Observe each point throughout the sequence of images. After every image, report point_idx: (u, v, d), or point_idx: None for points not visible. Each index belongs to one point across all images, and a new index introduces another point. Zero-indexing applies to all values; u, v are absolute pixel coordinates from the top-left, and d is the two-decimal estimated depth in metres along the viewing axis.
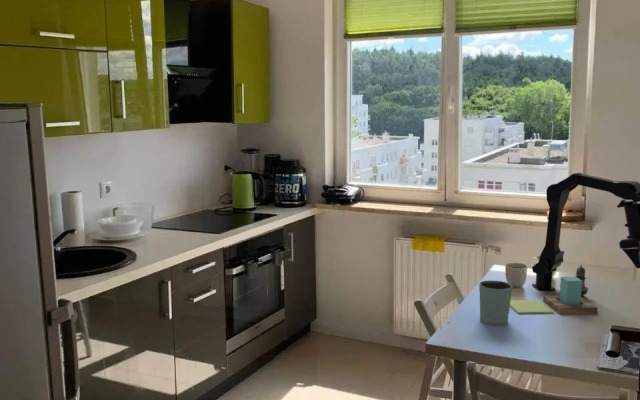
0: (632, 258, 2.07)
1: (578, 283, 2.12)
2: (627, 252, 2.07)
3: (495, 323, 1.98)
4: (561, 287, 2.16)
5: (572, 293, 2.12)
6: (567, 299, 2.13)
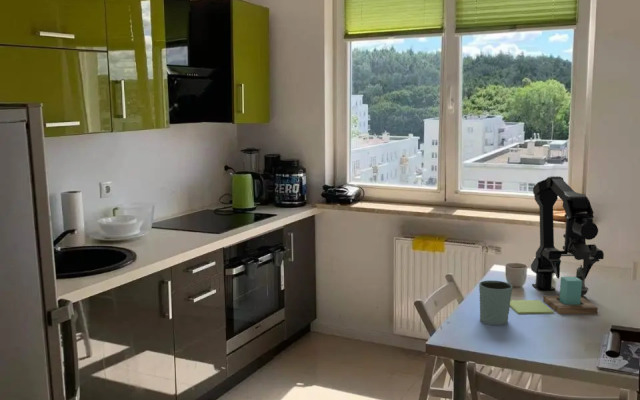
0: (554, 267, 2.14)
1: (578, 283, 2.12)
2: (551, 260, 2.15)
3: (495, 323, 1.98)
4: (561, 287, 2.16)
5: (572, 293, 2.12)
6: (567, 299, 2.13)
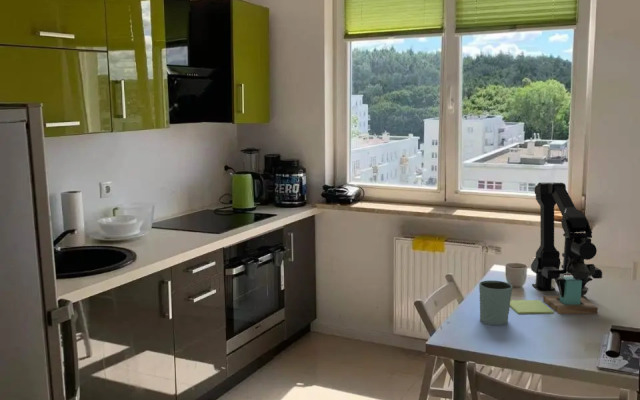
0: (558, 286, 2.15)
1: (578, 283, 2.12)
2: (555, 279, 2.16)
3: (495, 323, 1.98)
4: None
5: (572, 293, 2.12)
6: (567, 299, 2.13)
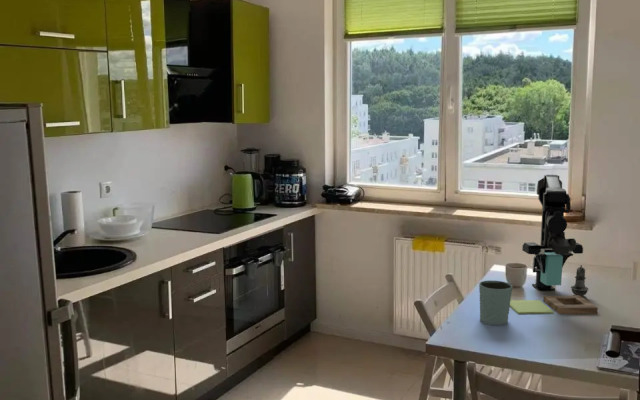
0: (539, 262, 2.13)
1: (559, 258, 2.10)
2: (536, 255, 2.14)
3: (495, 323, 1.98)
4: None
5: (553, 268, 2.10)
6: (549, 275, 2.11)
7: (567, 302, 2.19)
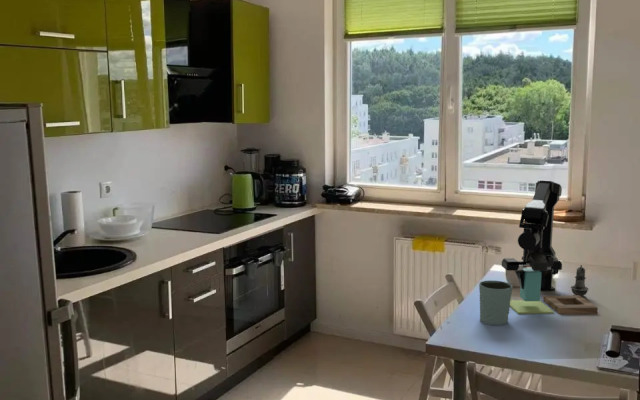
0: (518, 278, 2.14)
1: (538, 274, 2.11)
2: None
3: (495, 323, 1.98)
4: None
5: (532, 285, 2.11)
6: (527, 291, 2.11)
7: (567, 302, 2.19)
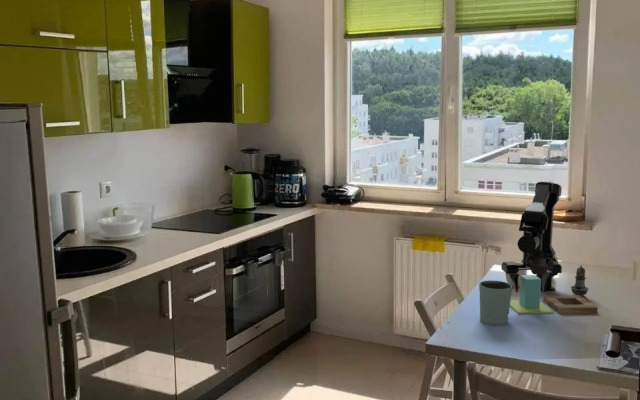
0: (512, 281, 2.14)
1: (537, 281, 2.11)
2: (510, 274, 2.15)
3: (495, 323, 1.98)
4: (521, 286, 2.15)
5: (531, 292, 2.12)
6: (527, 298, 2.12)
7: (567, 302, 2.19)
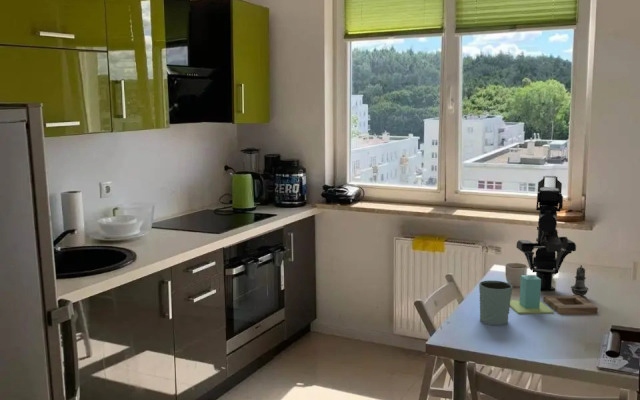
0: (527, 259, 2.19)
1: (537, 281, 2.11)
2: (525, 252, 2.20)
3: (495, 323, 1.98)
4: (521, 286, 2.15)
5: (531, 292, 2.12)
6: (527, 298, 2.12)
7: (567, 302, 2.19)
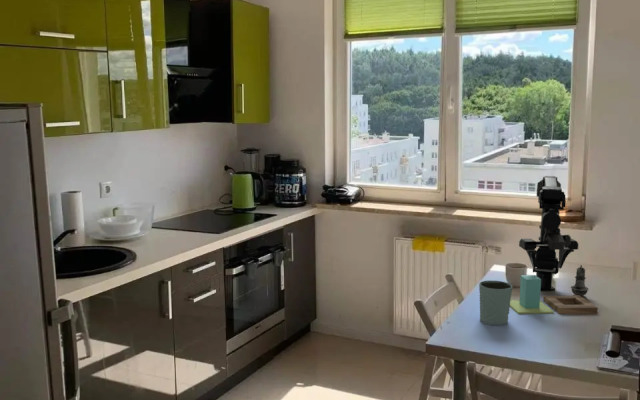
0: (530, 258, 2.20)
1: (537, 281, 2.11)
2: None
3: (495, 323, 1.98)
4: (521, 286, 2.15)
5: (531, 292, 2.12)
6: (527, 298, 2.12)
7: (567, 302, 2.19)
